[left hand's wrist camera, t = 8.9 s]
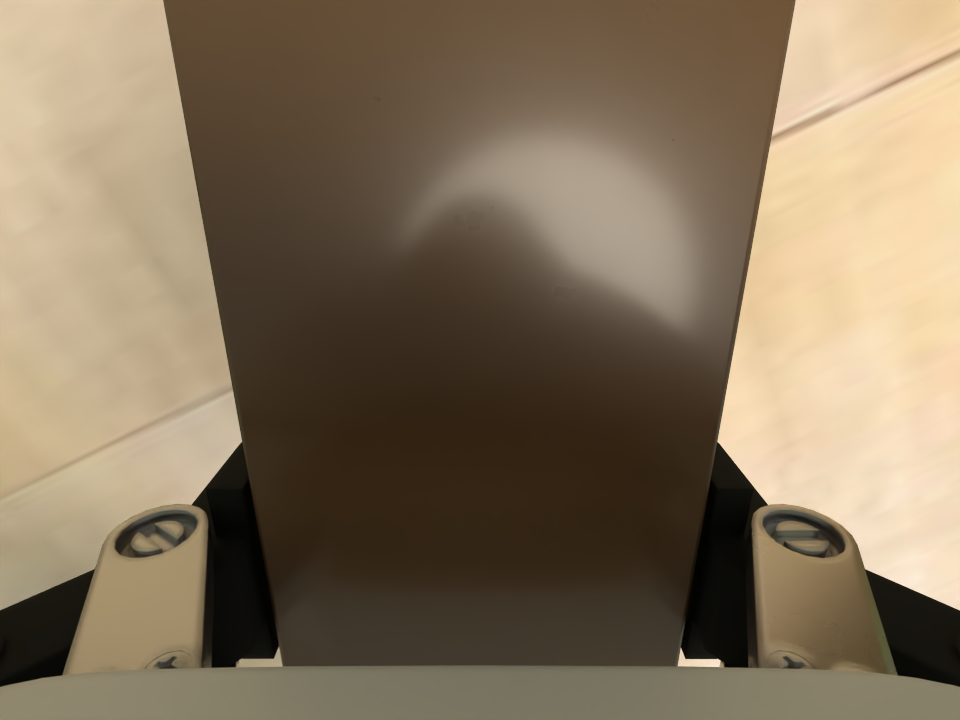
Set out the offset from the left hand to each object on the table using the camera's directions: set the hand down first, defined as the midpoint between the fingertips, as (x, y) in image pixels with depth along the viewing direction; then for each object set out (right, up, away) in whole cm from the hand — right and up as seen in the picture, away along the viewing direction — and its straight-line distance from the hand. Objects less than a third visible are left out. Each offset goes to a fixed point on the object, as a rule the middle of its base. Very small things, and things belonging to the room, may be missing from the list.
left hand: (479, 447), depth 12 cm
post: (0, +19, -6) cm, 20 cm away
